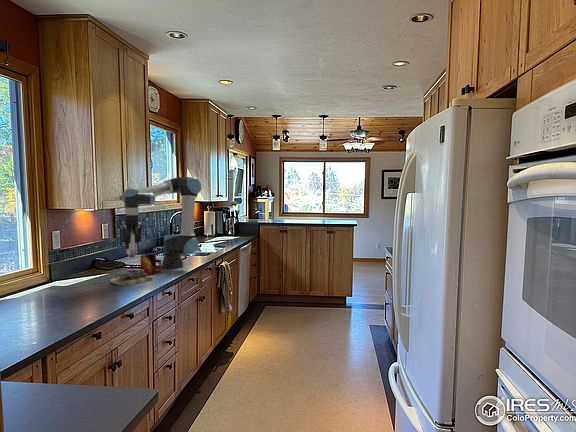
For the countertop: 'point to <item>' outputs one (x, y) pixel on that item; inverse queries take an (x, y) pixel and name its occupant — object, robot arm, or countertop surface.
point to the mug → (150, 264)
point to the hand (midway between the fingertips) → (131, 253)
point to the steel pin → (132, 245)
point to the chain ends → (131, 277)
